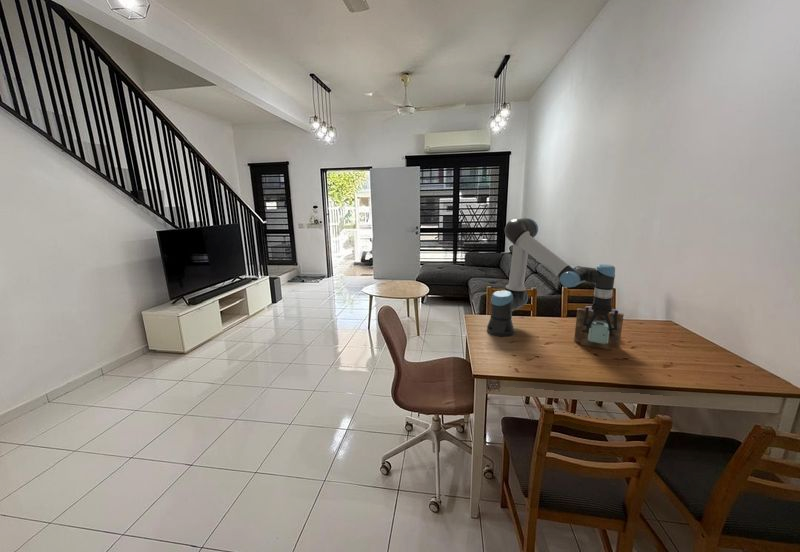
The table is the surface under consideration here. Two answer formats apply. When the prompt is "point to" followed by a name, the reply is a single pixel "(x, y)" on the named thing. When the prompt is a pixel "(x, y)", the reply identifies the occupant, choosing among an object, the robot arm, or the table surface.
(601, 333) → the cabinet
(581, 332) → the wall board
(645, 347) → the table surface
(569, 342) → the table surface
